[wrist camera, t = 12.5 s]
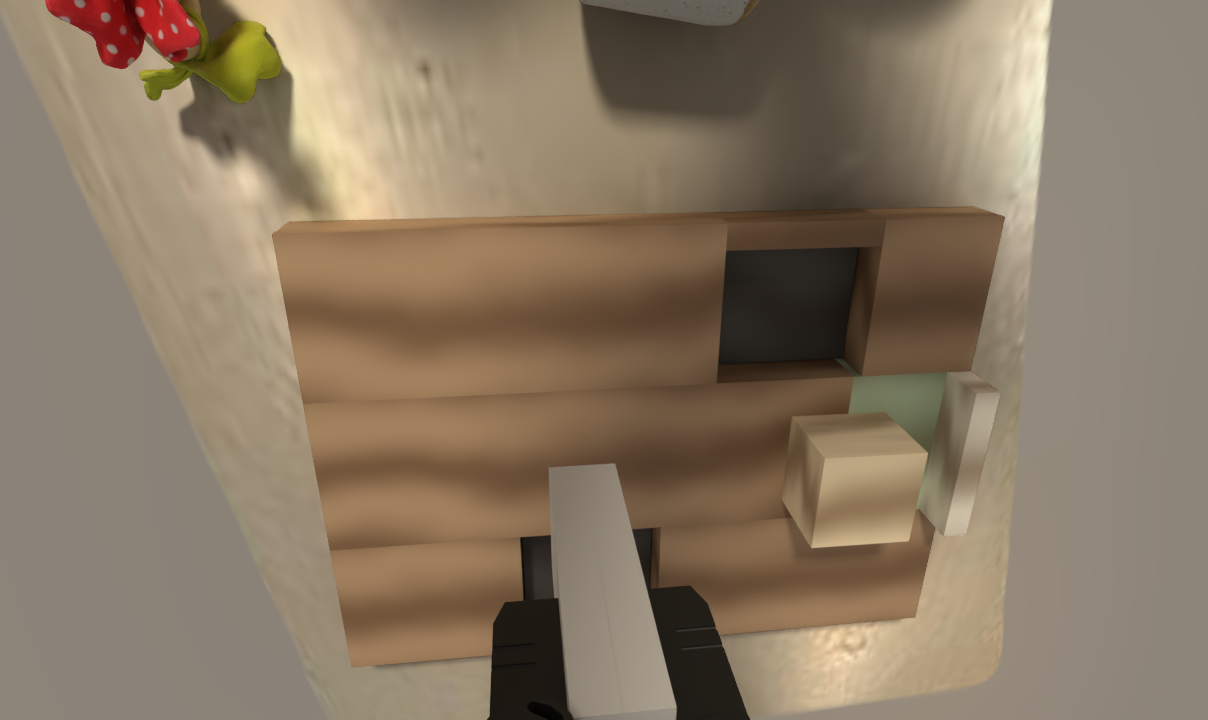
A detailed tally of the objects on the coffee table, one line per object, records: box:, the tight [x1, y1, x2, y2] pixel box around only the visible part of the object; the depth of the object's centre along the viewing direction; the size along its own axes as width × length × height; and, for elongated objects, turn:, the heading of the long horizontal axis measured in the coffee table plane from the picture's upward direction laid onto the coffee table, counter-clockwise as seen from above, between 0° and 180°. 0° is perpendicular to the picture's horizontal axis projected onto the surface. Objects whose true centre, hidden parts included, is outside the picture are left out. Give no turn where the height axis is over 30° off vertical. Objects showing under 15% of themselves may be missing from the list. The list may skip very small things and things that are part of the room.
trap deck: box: [272, 207, 1005, 667], centre depth 43 cm, size 29×40×6 cm
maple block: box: [781, 412, 928, 548], centre depth 43 cm, size 6×6×5 cm
